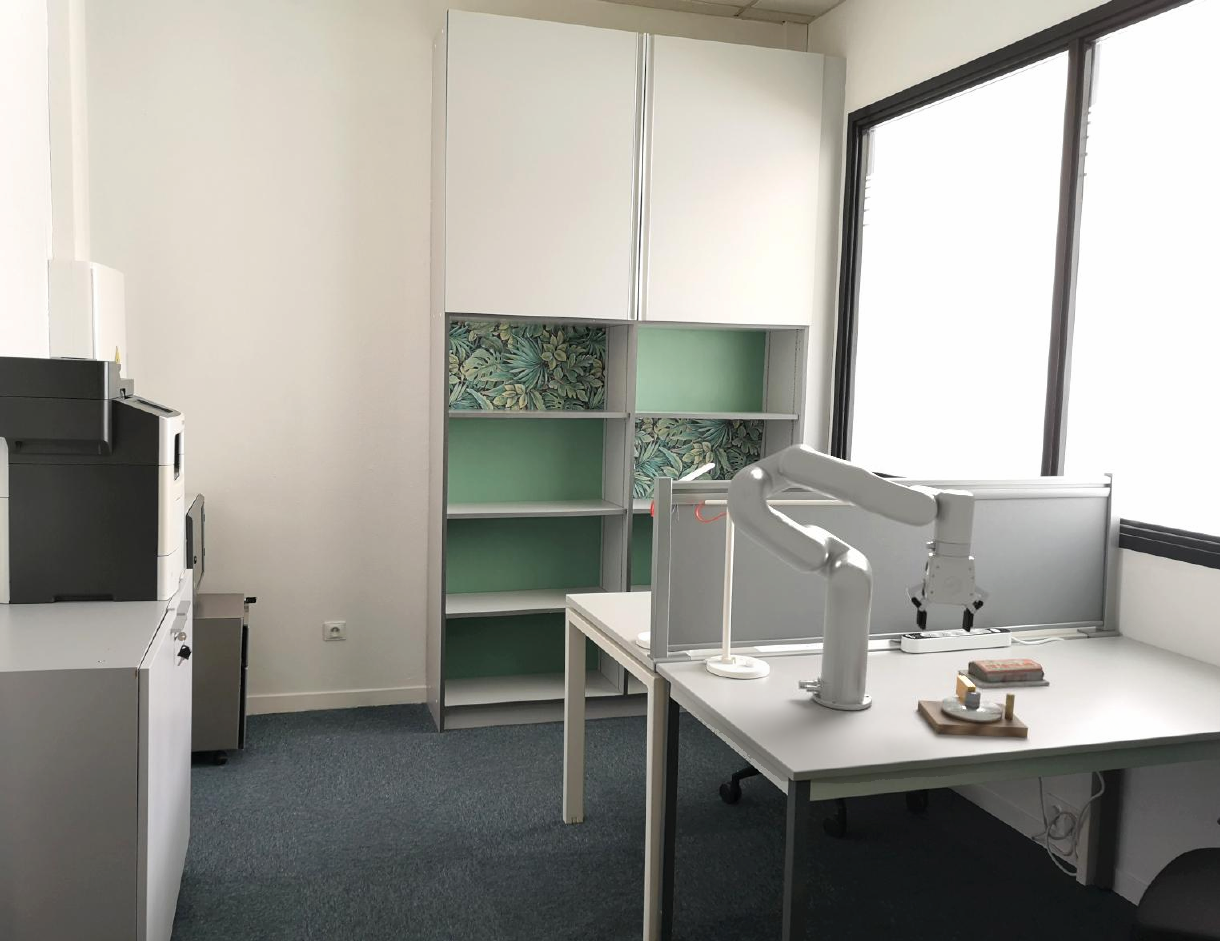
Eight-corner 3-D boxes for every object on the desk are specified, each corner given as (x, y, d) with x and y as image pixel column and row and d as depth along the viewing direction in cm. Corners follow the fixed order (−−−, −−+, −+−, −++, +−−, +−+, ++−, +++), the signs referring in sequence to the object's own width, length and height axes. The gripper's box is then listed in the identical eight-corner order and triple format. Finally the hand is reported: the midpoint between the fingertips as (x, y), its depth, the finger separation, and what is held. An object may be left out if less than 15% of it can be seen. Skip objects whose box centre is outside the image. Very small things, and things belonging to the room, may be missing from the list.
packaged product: (1025, 654, 251) (1051, 667, 242) (1023, 673, 252) (1049, 687, 242) (958, 656, 247) (982, 669, 238) (956, 676, 248) (980, 690, 238)
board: (937, 733, 209) (939, 699, 208) (917, 709, 222) (920, 677, 222) (1027, 737, 208) (1030, 703, 208) (1001, 712, 222) (1004, 681, 221)
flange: (1011, 723, 209) (1013, 698, 209) (951, 721, 209) (953, 696, 209) (987, 700, 223) (989, 676, 222) (931, 697, 223) (932, 674, 223)
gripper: (914, 550, 214) (907, 632, 216) (999, 555, 214) (991, 636, 216) (904, 543, 221) (898, 622, 223) (986, 547, 221) (978, 626, 223)
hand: (943, 629), depth 219 cm, fingers open, 9 cm apart
